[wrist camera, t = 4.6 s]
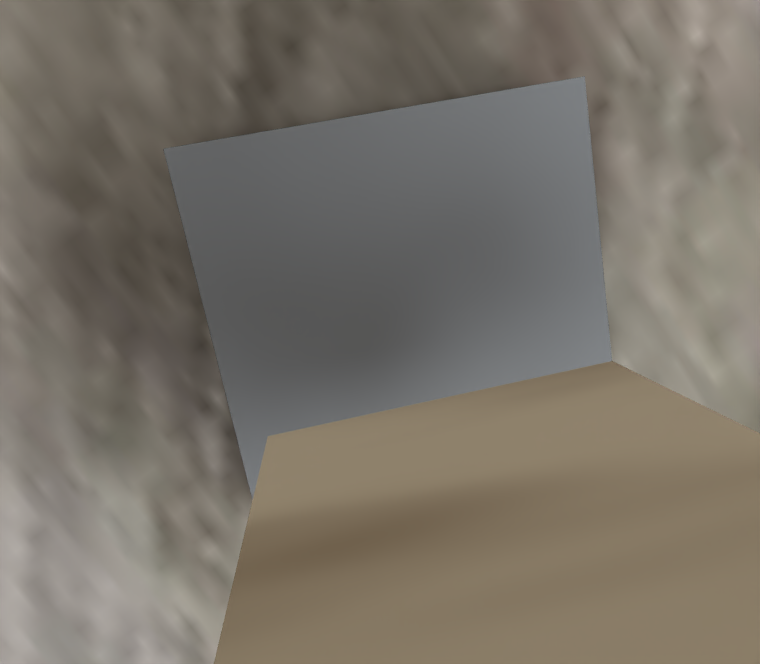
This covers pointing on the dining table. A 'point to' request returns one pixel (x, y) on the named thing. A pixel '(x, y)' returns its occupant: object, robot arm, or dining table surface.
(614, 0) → the dining table surface
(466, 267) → the slate board
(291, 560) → the birch cube
